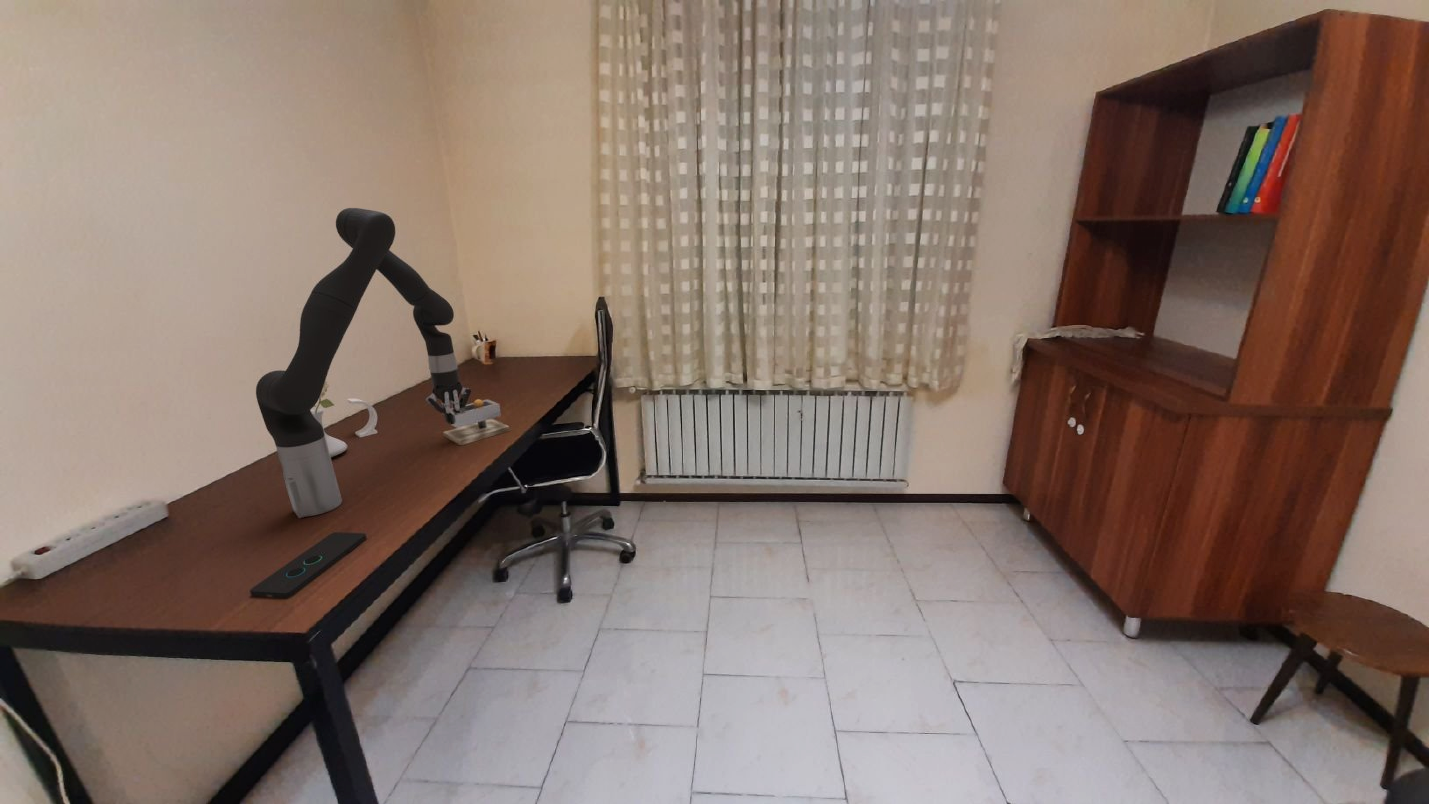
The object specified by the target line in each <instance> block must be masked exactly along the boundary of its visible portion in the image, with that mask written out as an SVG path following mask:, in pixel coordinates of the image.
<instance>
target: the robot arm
mask: <svg viewBox="0 0 1429 804" xmlns="http://www.w3.org/2000/svg"><path fill="white" fill-rule="evenodd" d="M335 228H336V231H337V234H338V235H339V237H340V239H341V240H342V241H344V243H345V244H347V245H348V246H349V247H350V248H352V249H351V252H350V253H349V255H348V256H347V257H346V259H345V260H344V261H343V262H342V263H341V264H340V265H338V266H337V267H336V268H334V269H333V270H331V271H330V272H329V273H328V274H326V275H325V276H324V277H323V278H321V280H320V281H318V282H317V283H316V284H315V286H314V287H313V289H312V290H311V292H310V294H309V295H308V298H307V300H306V302H305V304H304V306H303V308H302V311H301V316H300V319H299V336H298V337H299V338H298V344H297V345H298V346H297V348H296V351H295V353H294V356H293V357H292V359H291V361H290V363H289V365H288V366H287V368H286V369H285V370H278V369H277V370H273V371H269V372H267V373H266V374H264V375H262V377H260V379H259V380H258V381H257V384H256V388H255V397H256V401H257V404H258V407H259V410H260V413H261V416H262V419H263V422H264V424H265V427H266V429H267V432H268V433H269V434H270V436H271V438H272V439H273V440H274V441H273V442H274V445H275V448H276V451H277V454H278V458H279V461H280V462H279V463H280V464H281V468H282V472H283V473H282V476H283V480H284V483H285V486H286V490H287V494H288V496H289V500H290V504H291V507H292V510H293V512H294V514H295V515H296V517H298V519H301V518H304V517H314V516H317V515H318V516H319V515H321V514H324V513H327V512H330V511H333V510H335V509H336V508H338V507H340V505H342V503H343V499H342V495H341V492H340V487H339V483H338V480H337V476H336V473H335V469H334V465H333V462H332V461H333V460H332V457H330V453H329V449H328V446H327V442H326V438H325V434H324V431H325V429H324V426H323V427H322V425H323V424H322V425H321V424H320V423H319V422H318V421H317V420H316V419H315V417H314V416H313V415H312V413H311V411H310V410H313V408H315V407H314V406H316V404H317V403H318V402H319V397H320V395H321V392H322V389H323V386H324V383H325V381H327V380H326V379H327V376H328V373H329V370H330V368H331V365H332V362H333V360H334V358H335V356H336V354H337V353H338V350H339V348H340V346H341V343H342V341H343V339H344V337H345V334H346V332H347V331H348V329H349V327H350V325H351V323H352V321H353V318H354V316H355V315H356V313H357V310H358V307H359V305H360V302H361V300H362V298H363V296H364V294H365V292H366V290H367V289H368V286H369V285H370V282H371V280H372V279H373V277H374V274H376V272H377V271H378V272H379V273H380V274H381V275H383V277H384V278H386V280H387V281H388V282H390V283H389V284H391V285H392V286H393V287H394V289H395V290H396V291H397V292H398V294H399V295H400V296H401V297H402V298H403V299H404V300H405V301H406V302H407V303H408V304H409V305H411V306H413V308H412V309H413V310H412V317H413V320H414V322H415V324H416V326H417V328H418V330H419V332H420V334H421V337H423V340H424V342H425V347H426V352H427V358H428V361H427V362H428V369H429V373H430V377H431V383H432V391H431V392H432V393H431V394H430V395H428V396H425V397H424V399H425V401H426V402H427V403H428V404H429V405H430V406H431V407H433V409H435V410H436V411H437V412H438V413H440V414H444V415H443V416H444V419H445V420H444V422H446V423H447V424H448V425H451V424H453V422H452V417H451V413H450V409H451V408H453V411H454V412H456V413H460V409H461V408H464V407H465V406H466V405H467V403H468V401H469V397H470V395H471V394H472V390H471V388H469V387H464V386H463V385H462V383H461V379H460V374H459V368H458V364H457V363H458V362H457V358H456V355H455V350H454V346H453V340H452V337H451V335H450V334H449V333H447V332H443V331H440V330H439V329H437V326H438V327H439V326H447V325H449V324H451V323H452V322H453V320H454V318H455V314H454V313H455V312H454V309H453V307H452V305H451V304H450V303H449V302H448V301H447V300H446V299H445V298H444V297H443V296H442V295H440V293H437V292H436V291H435V290H433V289H432V288H430V287H429V285H428V284H427V283H426V282H425V280H424V278H422V276H421V275H420V274H419V273H418V272H417V271H416V270H415V269H414V268H413V267H412V266H411V265H410V264H408V263H407V262H405V260H403V259H401V258H400V257H399V256H397V255H396V254H395V253H393V251H391V250H390V249H391V247H392V245H393V243H394V241H395V236H396V226H395V223H394V220H393V219H392V217H391V216H389V215H388V214H386V213H385V212H381V211H377V210H372V209H365V208H359V207H347V208H344V209H342V210H341V211H340V212H339V213H338V214H337V216H336V219H335ZM459 396H460V398H459ZM436 398H437V399H438V400H440V404H441V405H442V406H440V405H439V404H438V403H437V399H436ZM450 407H451V408H450ZM451 426H452V425H451ZM323 429H324V430H323Z"/></svg>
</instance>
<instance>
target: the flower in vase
mask: <svg viewBox="0 0 1429 804" xmlns="http://www.w3.org/2000/svg"><path fill="white" fill-rule="evenodd" d="M328 387H329V384H328V381H327V380H325V383H324V386H323V389H322V392H321V395H320V397H319V399H318V402H317V403H318V404H317V405H315V406H314V407H313V408H315V409H313V408H312V409H311V410H310V411H311V413H312V415H313V416H314V417H315V419H316V420H317V421H318V422H319V423H320V424H321V425H322V427H323V430H324V434H325V438H326V442H327V446H328V449H329V453H330V457H331V458H333V457H335V456H337V455H340V454H342V453H343V452H345V451H346V450H347V448H348V445H347V444H346V442H344V440H341V439H338V438H335V437H333V436H330V435H328V433H326V432H325V429H324V426H323V415H324V413H325V409H327V408H330V407H334V406H335V404H334V403H333V402H332V401H331V400H330V399H328V398H324V399H322V398H323V397H324V396H325V395H326V393H327V391H328ZM320 405H321V406H322V408H319V406H320Z"/></svg>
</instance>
